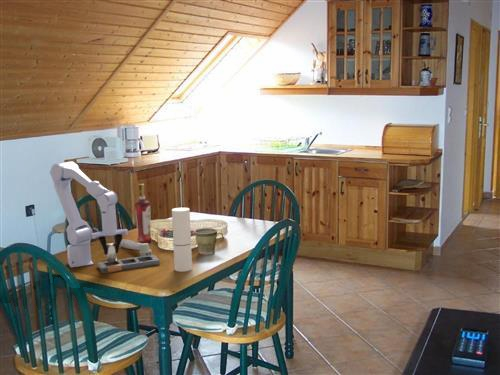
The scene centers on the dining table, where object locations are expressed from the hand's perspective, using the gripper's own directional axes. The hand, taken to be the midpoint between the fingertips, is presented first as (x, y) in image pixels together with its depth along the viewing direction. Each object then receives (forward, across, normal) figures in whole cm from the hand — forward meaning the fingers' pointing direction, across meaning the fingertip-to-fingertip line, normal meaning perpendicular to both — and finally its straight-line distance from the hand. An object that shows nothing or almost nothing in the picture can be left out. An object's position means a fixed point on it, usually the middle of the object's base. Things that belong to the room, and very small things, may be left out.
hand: (111, 253), depth 257 cm
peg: (+3, 0, 0) cm, 3 cm away
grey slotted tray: (+7, +7, 0) cm, 10 cm away
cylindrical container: (+7, +26, -15) cm, 31 cm away
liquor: (+7, +23, +35) cm, 42 cm away
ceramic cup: (+7, +44, +2) cm, 45 cm away
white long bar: (+7, +15, +19) cm, 25 cm away
